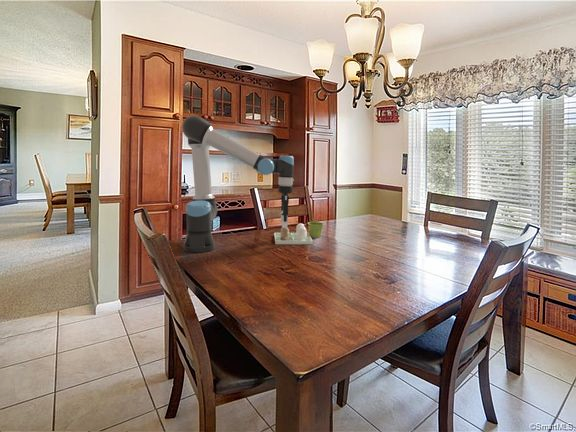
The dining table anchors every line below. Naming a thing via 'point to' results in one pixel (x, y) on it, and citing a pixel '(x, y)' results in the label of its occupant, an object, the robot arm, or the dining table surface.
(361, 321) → the dining table surface
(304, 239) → the white egg far right
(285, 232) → the wooden egg
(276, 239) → the caddy
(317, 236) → the plant pot
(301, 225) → the white egg far left
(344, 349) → the dining table surface
